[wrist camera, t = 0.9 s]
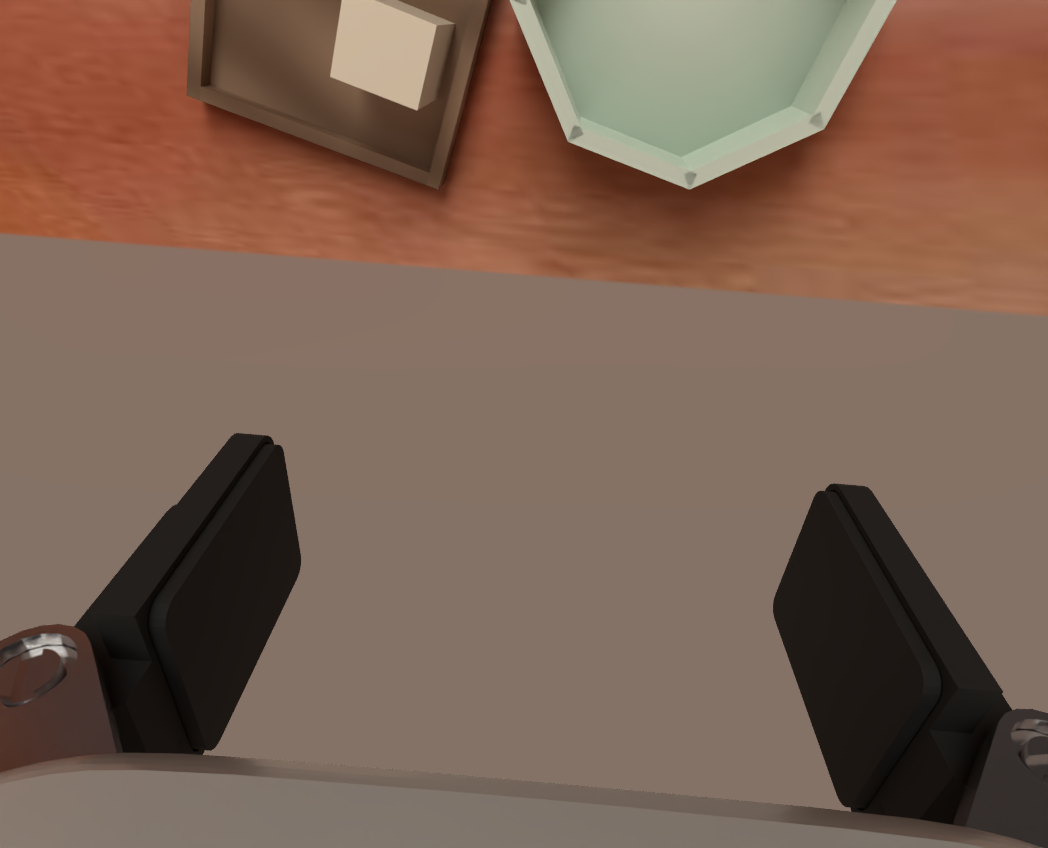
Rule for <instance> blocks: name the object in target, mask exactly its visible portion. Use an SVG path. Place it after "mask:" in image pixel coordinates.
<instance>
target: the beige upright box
mask: <svg viewBox="0 0 1048 848" xmlns="http://www.w3.org/2000/svg"><path fill="white" fill-rule="evenodd" d="M454 27H455V23H452V22H450V21H447V20H445V19H442V18H440V17H437V16H435V15H433V14H430V13H428V12H425V11H423V10H420V9H418V8H415V7H413V6H410V5H408V4H406V3H403V2H401V1H398V0H342V2H341V9H340V15H339V22H338V28H337V35H336V41H335V47H334V54H333V60H332V67H331V73H330V77H332V78H334V79H337V80H340V81H342V82H345V83H347V84H350V85H352V86H355V87H358V88H360V89H363V90H365V91H368V92H370V93H373V94H376V95H378V96H381V97H383V98H386V99H389V100H391V101H394V102H396V103H399V104H401V105H404V106H407V107H409V108H412V109H414V110H417V111H418V110H419V109H421V108H423V107H424V106H426V105H428V104H430V103H431V102H433V101H435V100H436V99H437V98H438V94H439V89H440V85H441V81H442V77H443V73H444V69H445V65H446V60H447V56H448V52H449V48H450V44H451V40H452V36H453V32H454Z"/></svg>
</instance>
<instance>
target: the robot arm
mask: <svg viewBox="0 0 1048 848" xmlns="http://www.w3.org/2000/svg"><path fill="white" fill-rule="evenodd" d="M300 566H301V555H300V548H299V542H298V536H297V530H296V524H295V517H294V511H293V506H292V499H291V493H290V487H289V481H288V476H287V469H286V463H285V457H284V452H283V449H282V447H281V446H280V445H274V442H273V440H272V438H271V437H269V436H265V435H252V434H241V433H236V434H234V435H233V436H231V438H230V439H229V440H228V441H227V442H226V444H225V445H224V446H223V447H222V449H221V450H220V451H219V452H218V454H217V455H216V456H215V458H214V459H213V460H212V461H211V462H210V464H209V465H208V466H207V467H206V469H205V470H204V471H203V473H202V474H201V475H200V476H199V477H198V479H197V480H196V481H195V482H194V484H193V485H192V486H191V488H190V489H189V490H188V491H187V492H186V494H185V495H184V496H183V497H182V499H181V500H180V501H179V503H178V504H177V505H174V506H173V507H171V508H170V509H169V510H168V511H167V512H166V513H165V515H164V516H163V517H162V518H161V520H160V521H159V522H158V523H157V524H156V526H155V527H154V528H153V529H152V531H151V532H150V533H149V534H148V536H147V537H146V538H145V539H144V541H143V542H142V543H141V544H140V546H139V547H138V548H137V549H136V550H135V552H134V553H133V554H132V556H131V557H130V558H129V559H128V560H127V562H126V563H125V564H124V566H123V567H122V568H121V569H120V570H119V572H118V573H117V574H116V575H115V576H114V578H113V579H112V580H111V581H110V583H109V584H108V585H107V586H106V588H105V589H104V590H103V591H102V593H101V594H100V595H99V596H98V598H97V599H96V600H95V601H94V603H93V604H92V605H91V606H90V607H89V609H88V610H87V611H86V612H85V614H84V615H83V616H82V617H81V619H80V620H79V621H78V622H77V624H76V625H75V626H68V625H62V624H55V625H42V626H38V627H34V628H31V629H27V630H23V631H20V632H18V633H16V634H14V635H12V636H9V637H8V638H5V639H3V640H1V641H0V848H1048V713H1045V712H1042V711H1038V710H1034V709H1015V710H1012V709H1011V708H1010V706H1009V704H1008V703H1007V701H1006V700H1005V698H1004V697H1003V695H1002V693H1003V691H1002V689H1001V688H1000V687H999V685H998V683H997V682H996V680H995V679H994V677H993V676H992V674H991V673H990V671H989V670H988V668H987V667H986V665H985V663H984V662H983V660H982V659H981V657H980V656H979V654H978V653H977V651H976V650H975V648H974V647H973V645H972V644H971V642H970V641H969V639H968V637H966V634H965V633H964V631H963V630H962V628H961V627H960V625H959V624H958V622H957V621H956V619H955V618H954V616H953V615H952V613H951V612H950V610H949V609H948V607H947V605H946V604H945V602H944V601H943V599H942V598H941V596H940V595H939V593H938V592H937V590H936V589H935V587H934V586H933V584H932V583H931V581H930V579H929V578H928V577H927V575H926V573H925V572H924V570H923V569H922V567H921V566H920V564H919V563H918V561H917V560H916V558H915V557H914V555H913V554H912V552H911V550H910V549H909V547H908V546H907V544H906V543H905V542H904V540H903V538H902V537H901V535H900V534H899V532H898V531H897V529H896V528H895V526H894V525H893V523H892V521H891V520H890V518H889V517H888V516H887V514H886V512H885V511H884V509H883V508H882V506H881V505H880V503H879V502H878V500H877V499H876V497H875V496H874V494H873V493H872V491H871V490H870V489H869V488H868V487H865V486H856V485H844V484H830V485H829V486H828V487H827V488H826V490H825V491H819V492H817V493H816V495H815V497H814V499H813V501H812V504H811V507H810V509H809V511H808V514H807V516H806V519H805V521H804V524H803V526H802V529H801V532H800V534H799V537H798V539H797V542H796V544H795V547H794V549H793V552H792V554H791V557H790V559H789V562H788V564H787V567H786V570H785V572H784V574H783V577H782V579H781V582H780V585H779V587H778V590H777V592H776V595H775V598H774V603H773V613H774V618H775V621H776V624H777V627H778V630H779V633H780V635H781V638H782V641H783V644H784V647H785V649H786V652H787V655H788V658H789V661H790V664H791V667H792V669H793V672H794V675H795V678H796V681H797V683H798V686H799V689H800V692H801V695H802V698H803V700H804V703H805V706H806V709H807V712H808V714H809V717H810V720H811V723H812V726H813V729H814V732H815V734H816V737H817V740H818V743H819V745H820V749H821V751H822V754H823V757H824V760H825V763H826V766H827V768H828V771H829V774H830V777H831V780H832V782H833V785H834V788H835V791H836V794H837V796H838V798H839V800H840V802H841V803H842V805H844V806H845V807H850V808H851V811H852V812H849V811H840V810H831V809H822V808H813V807H803V806H793V805H781V804H772V803H761V802H750V801H739V800H729V799H719V798H707V797H697V796H686V795H676V794H666V793H655V792H644V791H633V790H622V789H610V788H600V787H588V786H577V785H565V784H555V783H544V782H533V781H521V780H509V779H498V778H487V777H476V776H464V775H452V774H441V773H429V772H417V771H405V770H393V769H381V768H369V767H357V766H345V765H333V764H321V763H309V762H296V761H284V760H269V759H255V758H240V757H238V758H237V757H225V756H209V755H203V753H204V751H205V750H212V749H214V748H215V747H216V746H217V744H218V742H219V741H220V739H221V737H222V735H223V733H224V731H225V728H226V726H227V724H228V722H229V720H230V718H231V716H232V713H233V712H234V710H235V707H236V705H237V703H238V701H239V699H240V697H241V695H242V693H243V691H244V689H245V687H246V684H247V682H248V680H249V678H250V676H251V674H252V672H253V670H254V667H255V666H256V663H257V661H258V659H259V657H260V655H261V653H262V651H263V649H264V647H265V645H266V642H267V640H268V638H269V636H270V634H271V632H272V630H273V628H274V626H275V624H276V622H277V619H278V617H279V615H280V613H281V611H282V609H283V607H284V605H285V603H286V600H287V598H288V596H289V594H290V592H291V590H292V588H293V586H294V584H295V582H296V580H297V577H298V575H299V571H300Z"/></svg>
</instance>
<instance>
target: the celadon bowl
mask: <svg viewBox="0 0 1048 848" xmlns="http://www.w3.org/2000/svg"><path fill="white" fill-rule="evenodd" d="M896 1H897V0H510V2H511V5H512V7H513V9H514V12H515V14H516V17H517V19H518V22H519V24H520V26H521V29H522V31H523V34H524V36H525V39H526V41H527V43H528V46H529V48H530V51H531V53H532V56H533V58H534V60H535V63H536V65H537V68H538V70H539V73H540V75H541V77H542V80H543V82H544V85H545V87H546V90H547V92H548V94H549V97H550V99H551V102H552V104H553V107H554V109H555V111H556V114H557V116H558V119H559V121H560V124H561V126H562V128H563V131H564V133H565V136H566V138H567V141H568V142H570V143H572V144H575V145H577V146H580V147H582V148H585V149H587V150H590V151H593V152H595V153H598V154H600V155H603V156H605V157H608V158H610V159H613V160H615V161H618V162H621V163H623V164H626V165H628V166H631V167H633V168H636V169H638V170H641V171H643V172H646V173H649V174H651V175H654V176H656V177H659V178H661V179H664V180H666V181H669V182H671V183H674V184H676V185H679V186H682V187H684V188H687V189H689V190H690V189H692V188H694V187H696V186H699V185H701V184H703V183H705V182H708V181H710V180H712V179H714V178H716V177H719V176H721V175H723V174H725V173H728V172H730V171H732V170H734V169H737V168H739V167H741V166H743V165H745V164H748V163H750V162H752V161H754V160H757V159H759V158H761V157H763V156H766V155H768V154H770V153H772V152H774V151H777V150H779V149H781V148H783V147H786V146H788V145H790V144H792V143H795V142H797V141H799V140H801V139H803V138H806V137H808V136H810V135H812V134H815V133H817V132H819V131H821V130H824V129H825V127H826V125H827V123H828V121H829V120H830V118H831V116H832V114H833V113H834V111H835V109H836V107H837V105H838V104H839V102H840V100H841V98H842V97H843V95H844V93H845V91H846V89H847V88H848V86H849V84H850V82H851V81H852V79H853V77H854V75H855V73H856V72H857V70H858V68H859V66H860V65H861V63H862V61H863V59H864V57H865V56H866V54H867V52H868V50H869V49H870V47H871V45H872V43H873V41H874V40H875V38H876V36H877V34H878V33H879V31H880V29H881V27H882V25H883V24H884V22H885V20H886V18H887V17H888V15H889V13H890V11H891V9H892V8H893V6H894V4H895V2H896Z"/></svg>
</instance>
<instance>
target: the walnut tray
mask: <svg viewBox="0 0 1048 848" xmlns="http://www.w3.org/2000/svg"><path fill="white" fill-rule="evenodd" d="M398 1H401V2H403V3H406V4H408V5H410V6H413V7H415V8H418V9H420V10H423V11H425V12H428V13H430V14H433V15H435V16H437V17H440V18H442V19H445V20H447V21H450V22H452V23H455V27H454V32H453V36H452V40H451V44H450V48H449V52H448V56H447V60H446V65H445V69H444V73H443V77H442V81H441V85H440V89H439V94H438V98H437V99H436V100H435V101H433V102H431V103H430V104H428V105H426V106H424V107H423V108H421V109H419V110H418V111H417V110H414V109H412V108H409V107H407V106H404V105H401V104H399V103H396V102H394V101H391V100H389V99H386V98H383V97H381V96H378V95H376V94H373V93H370V92H368V91H365V90H363V89H360V88H358V87H355V86H352V85H350V84H347V83H345V82H342V81H340V80H337V79H334V78H332V77H330V73H331V67H332V60H333V54H334V47H335V41H336V35H337V28H338V22H339V15H340V9H341V2H342V0H191V7H190V30H189V53H188V76H187V96H189V97H192V98H195V99H197V100H200V101H203V102H205V103H208V104H211V105H213V106H216V107H219V108H221V109H224V110H227V111H229V112H232V113H235V114H237V115H240V116H243V117H245V118H248V119H251V120H253V121H256V122H259V123H261V124H264V125H267V126H269V127H272V128H275V129H277V130H280V131H283V132H285V133H288V134H291V135H293V136H296V137H299V138H301V139H304V140H307V141H309V142H312V143H315V144H317V145H320V146H323V147H325V148H328V149H331V150H333V151H336V152H339V153H341V154H344V155H347V156H349V157H352V158H355V159H357V160H360V161H363V162H365V163H368V164H371V165H374V166H376V167H379V168H382V169H384V170H387V171H390V172H392V173H395V174H398V175H400V176H403V177H406V178H408V179H411V180H414V181H416V182H419V183H422V184H424V185H427V186H430V187H432V188H435V189H438V190H439V189H440V187H441V186H442V185H443V184H444V181H445V177H446V173H447V170H448V166H449V162H450V158H451V155H452V151H453V147H454V143H455V139H456V136H457V132H458V128H459V124H460V121H461V117H462V113H463V109H464V106H465V102H466V98H467V94H468V90H469V87H470V83H471V79H472V75H473V72H474V68H475V64H476V60H477V57H478V53H479V49H480V45H481V41H482V38H483V34H484V30H485V26H486V23H487V19H488V15H489V11H490V8H491V4H492V0H398Z"/></svg>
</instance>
